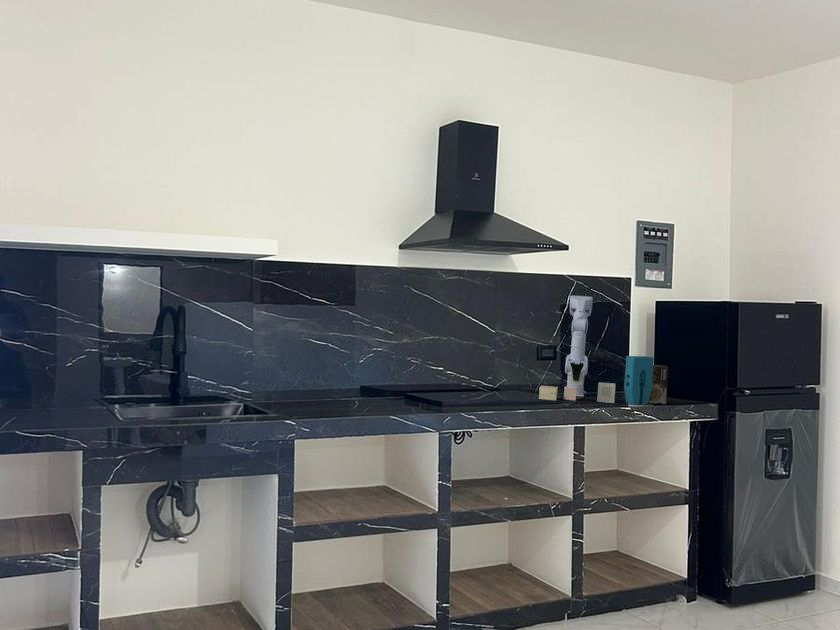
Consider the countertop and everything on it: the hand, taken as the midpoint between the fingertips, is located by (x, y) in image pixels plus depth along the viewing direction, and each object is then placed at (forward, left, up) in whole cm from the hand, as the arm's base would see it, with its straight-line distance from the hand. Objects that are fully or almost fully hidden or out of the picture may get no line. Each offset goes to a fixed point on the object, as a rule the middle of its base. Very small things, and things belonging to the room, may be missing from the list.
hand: (575, 380), depth 365 cm
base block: (-1, -11, -9) cm, 14 cm away
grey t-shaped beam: (-7, +13, -9) cm, 17 cm away
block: (-10, +26, -9) cm, 29 cm away
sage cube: (0, 0, -2) cm, 2 cm away
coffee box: (-20, +34, -9) cm, 40 cm away
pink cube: (-6, -2, -9) cm, 11 cm away
